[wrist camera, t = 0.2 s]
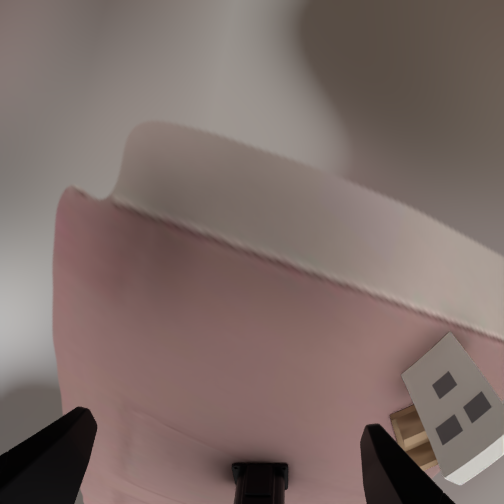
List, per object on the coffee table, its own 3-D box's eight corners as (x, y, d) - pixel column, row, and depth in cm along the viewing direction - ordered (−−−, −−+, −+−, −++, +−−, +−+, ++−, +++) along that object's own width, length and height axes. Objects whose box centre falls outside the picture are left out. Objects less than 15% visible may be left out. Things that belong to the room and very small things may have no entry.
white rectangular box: (419, 391, 26) (460, 485, 14) (400, 374, 25) (443, 478, 14) (465, 350, 24) (524, 436, 12) (449, 330, 23) (516, 423, 12)
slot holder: (400, 454, 29) (407, 477, 25) (389, 415, 27) (398, 442, 23) (465, 423, 27) (476, 444, 24) (465, 378, 25) (480, 401, 21)
